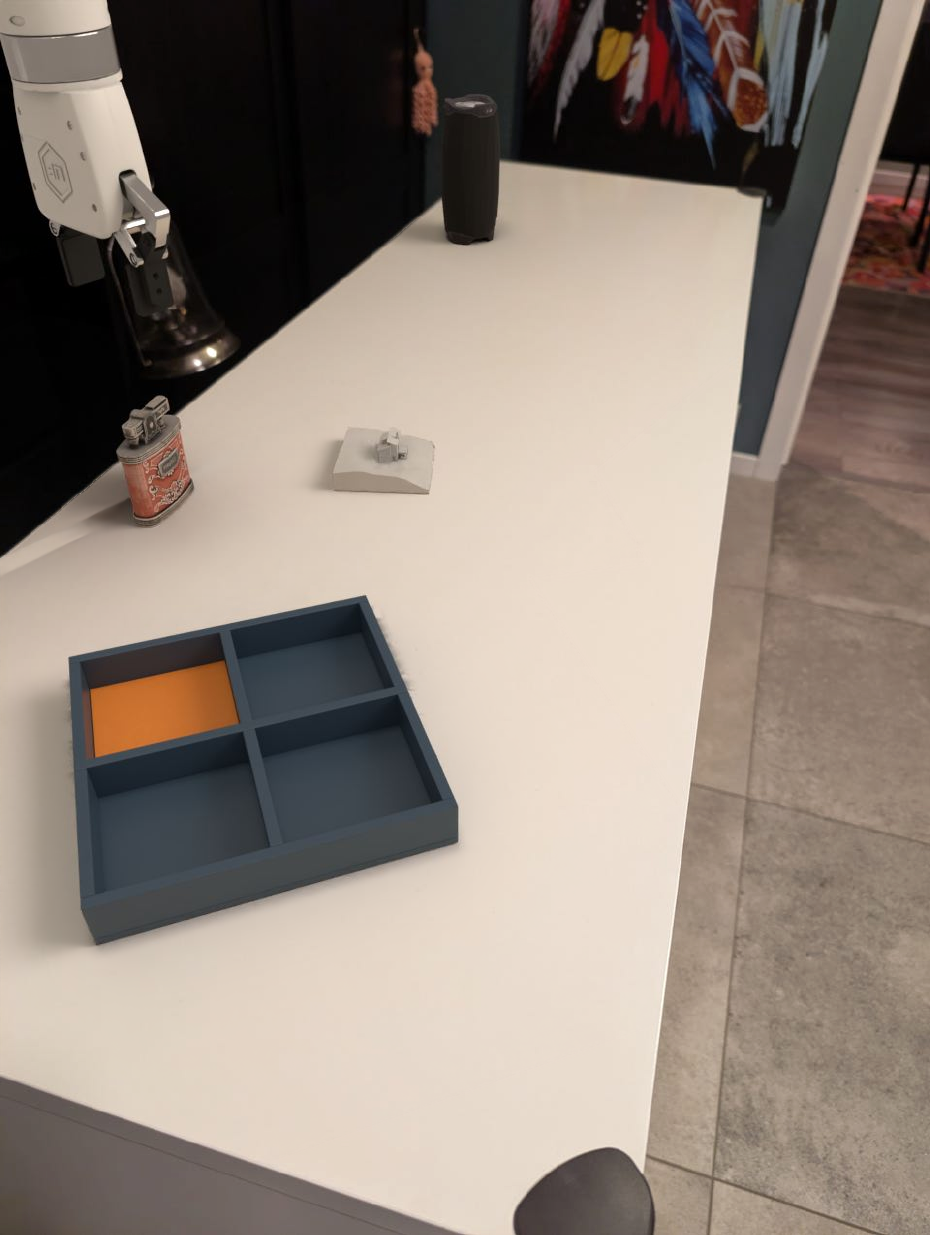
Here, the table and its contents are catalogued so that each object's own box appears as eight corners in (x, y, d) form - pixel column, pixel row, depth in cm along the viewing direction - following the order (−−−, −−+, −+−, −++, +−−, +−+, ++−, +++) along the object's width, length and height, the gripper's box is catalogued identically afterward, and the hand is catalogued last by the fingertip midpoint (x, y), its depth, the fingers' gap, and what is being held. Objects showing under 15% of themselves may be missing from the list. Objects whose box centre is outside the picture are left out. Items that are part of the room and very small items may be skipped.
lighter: (157, 530, 89) (134, 433, 82) (126, 523, 90) (100, 427, 83) (202, 486, 95) (183, 392, 88) (171, 480, 95) (151, 387, 89)
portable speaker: (433, 243, 150) (431, 103, 137) (455, 225, 156) (455, 90, 144) (485, 249, 147) (487, 108, 135) (505, 231, 154) (509, 95, 141)
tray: (80, 692, 72) (68, 656, 70) (368, 629, 78) (366, 594, 76) (95, 945, 56) (80, 910, 54) (458, 842, 62) (458, 806, 59)
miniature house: (450, 491, 94) (450, 457, 92) (336, 503, 92) (333, 469, 90) (429, 432, 103) (429, 400, 101) (325, 442, 101) (321, 410, 99)
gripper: (-48, 51, 70) (23, 284, 81) (84, 83, 61) (144, 339, 72) (45, 37, 74) (101, 259, 85) (181, 65, 66) (223, 308, 77)
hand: (120, 295), depth 79 cm, fingers open, 9 cm apart
